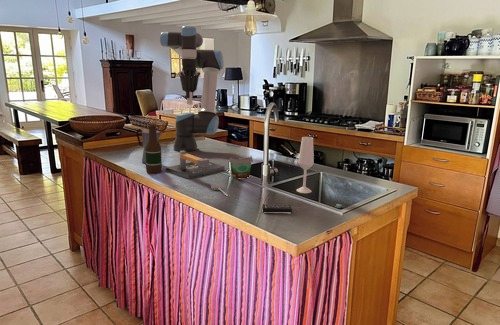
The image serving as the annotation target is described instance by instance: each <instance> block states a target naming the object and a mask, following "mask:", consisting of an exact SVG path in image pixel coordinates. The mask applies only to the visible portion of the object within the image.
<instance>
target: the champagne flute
mask: <svg viewBox="0 0 500 325" xmlns="http://www.w3.org/2000/svg"><path fill="white" fill-rule="evenodd" d="M300 143H301V144H300V149H299V156H298V161H297V162H298V166H300V168H301V169H303V181H302V183H303V184H302V186H301V187H299V188H297V189H296V192H298V193H300V194H310V193H312V190H311V189H310V188H309V187H307V185H306V184H307V172H308V171H307V170H309V169H310V168H312V167H313V166H314V164H315V163H314V162H315V161H314V160H315V159H314V156H315V154H314V137H312V136H302V137H301V142H300Z"/></svg>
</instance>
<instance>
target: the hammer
mask: <svg viewBox="0 0 500 325" xmlns="http://www.w3.org/2000/svg"><path fill="white" fill-rule="evenodd" d="M187 161H188V162H189V163H190V162H193V163H196V164H197V166H199V167H203V166H208V165H209V162H210V159H209V158H201V157H198V156H196V155H192V154H190V153H188V152H186V151H179V163H180V164H179V165H180V169H181V170H185V169H186V163H187Z"/></svg>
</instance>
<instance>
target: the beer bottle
mask: <svg viewBox="0 0 500 325" xmlns="http://www.w3.org/2000/svg"><path fill="white" fill-rule="evenodd" d="M156 129H157V125H156V124H154V123H153V124H148V130H149V141H148V143H147V145H146V148H145V154H146V163H145V171H146V173H147V174H150V175H151V174H152V175H156V174H160V173H162V171H163V169H162V168H163V164H162V162H163V161H162V146H161V144H160V142H159V140H158V141H157V135H156Z"/></svg>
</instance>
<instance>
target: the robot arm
mask: <svg viewBox="0 0 500 325" xmlns="http://www.w3.org/2000/svg"><path fill="white" fill-rule="evenodd" d="M159 42H160V45H161V46H162V47H166V48H169V49H171V50H172V51H173V52H175V53H176V54H177V55H178V56H179V57H180V58H181V65H182V66H181V67H182V68H181V71H178V72H177V74H178V76H179V80H180V83H181V88H182V92H185V98H186V105H189V106H190V105H191V106H192V105H193V98H194V93H195V91H197V88H198V83H199V77H200V76H201V72H199V71H197V69H201V71H202V73H203V80H202V82H203V83H202V90H201V92H202V93H201V103H200V109H199V110H198V111H197V115H196V114H195V112H183V113H178V114H176V115H175V122H174V123H175V140H174V143H173V147H172V148H173V150H174V151H175V152H180V151H186V153H188V152H193V151H194V152H195V151H197V150H198V143H197V140H196V138H195V134H197V135H198V134H199V135H208V136H209V135H214V134H216V133H217V130H218V128H219V124H220V121H219V120H220V119H219V116H218V115H217V113H216V111H215V108H216V99H217V98H216V95H217V86H218V75H219V74H220V73H221V70H223V69H224V57H223V53H222V52H221V50H217V49H197V48H200V47H201V46H202V45H203V43H204V37H203V36H202V34H200V33H199V32H197V28H196V27H195V26H190V25H189V26H188V25H187V26H185V25H183V26H182V27H181V30H180V31H163V32H161V33H160V35H159Z"/></svg>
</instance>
